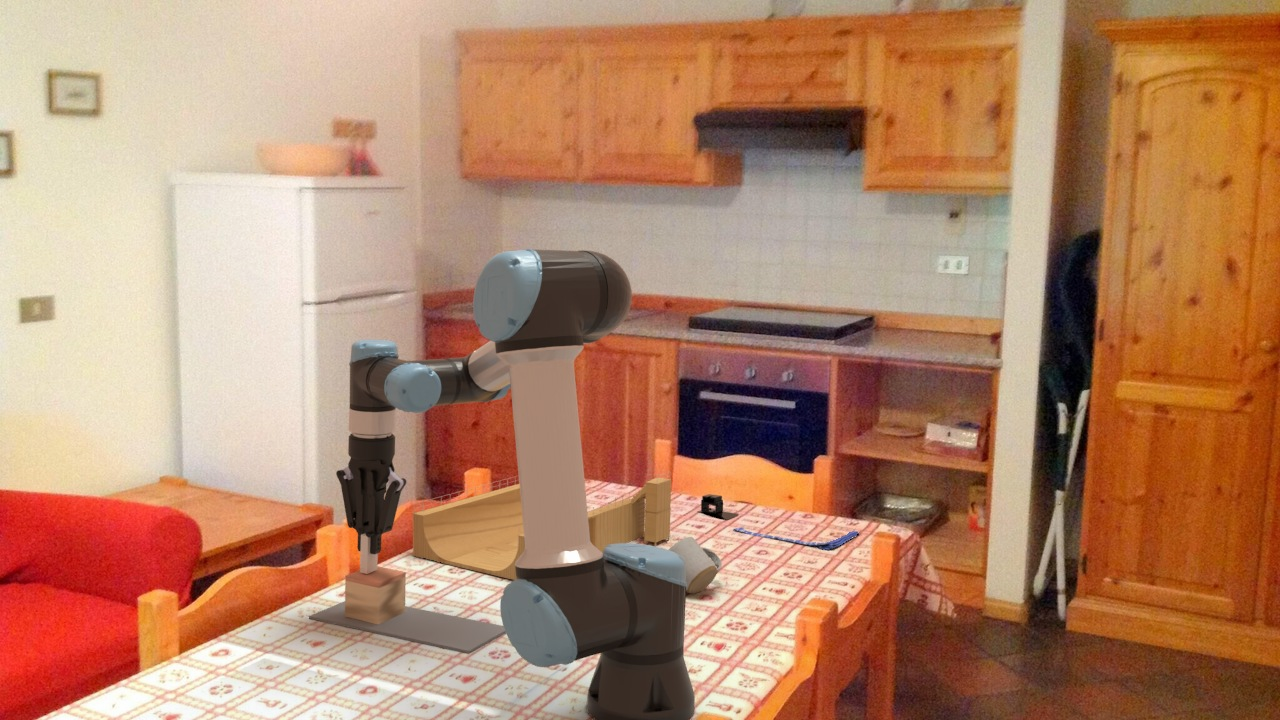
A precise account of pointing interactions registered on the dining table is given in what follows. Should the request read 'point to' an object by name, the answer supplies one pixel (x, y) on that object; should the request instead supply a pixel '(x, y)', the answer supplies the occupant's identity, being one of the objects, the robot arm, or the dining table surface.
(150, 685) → the dining table surface
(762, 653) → the dining table surface
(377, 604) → the wooden cube
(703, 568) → the ceramic mug
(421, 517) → the skate ramp
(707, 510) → the black boxy piece
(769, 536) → the dish towel
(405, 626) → the slate mat
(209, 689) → the dining table surface
